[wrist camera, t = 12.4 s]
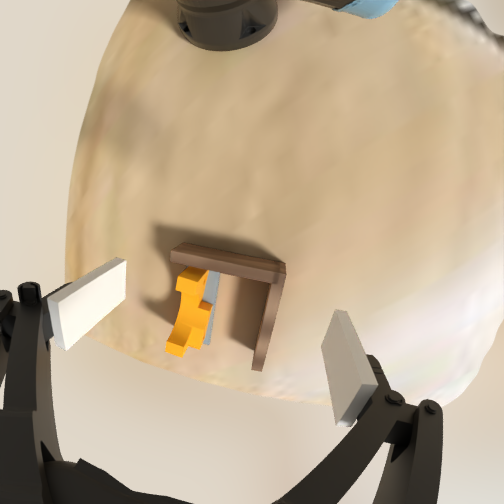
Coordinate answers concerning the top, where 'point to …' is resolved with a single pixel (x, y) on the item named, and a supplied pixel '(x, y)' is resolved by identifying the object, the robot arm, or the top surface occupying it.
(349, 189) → the top surface
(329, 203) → the top surface
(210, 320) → the pad
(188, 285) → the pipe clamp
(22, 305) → the robot arm
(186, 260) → the brown wooden corner wall
